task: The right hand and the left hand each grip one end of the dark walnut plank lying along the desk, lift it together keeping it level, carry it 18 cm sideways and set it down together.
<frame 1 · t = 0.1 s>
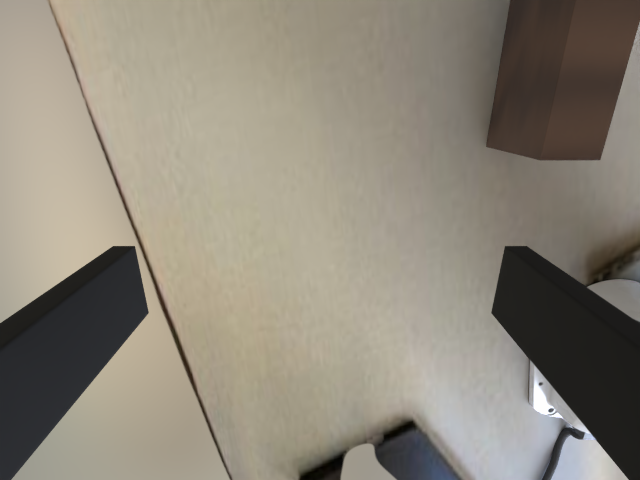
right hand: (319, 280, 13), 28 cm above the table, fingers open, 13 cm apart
plank: (535, 7, 33), on the table
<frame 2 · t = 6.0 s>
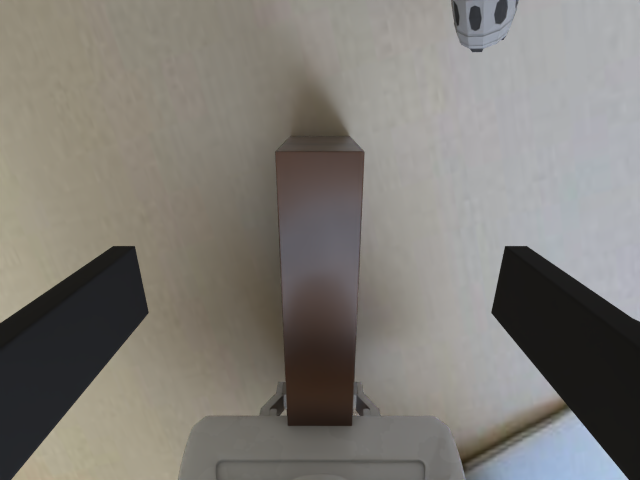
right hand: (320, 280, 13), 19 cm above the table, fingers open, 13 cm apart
plank: (320, 277, 34), on the table, touching left hand
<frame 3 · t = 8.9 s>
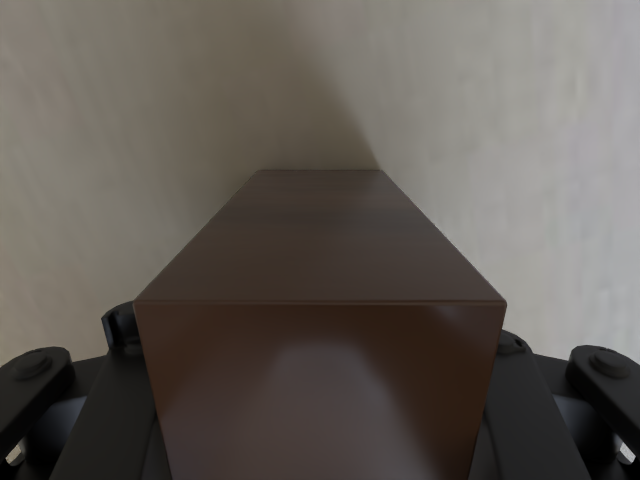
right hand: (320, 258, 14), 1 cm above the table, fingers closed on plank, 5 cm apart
plank: (320, 415, 19), on the table, touching right hand, left hand
when the right hand's fingers open (2 cm above the table, at t = 15.4 s): plank stays where it is, on the table.
when the left hand's fingers open (5 cm above the table, at t = 15.6 s): plank stays where it is, on the table.
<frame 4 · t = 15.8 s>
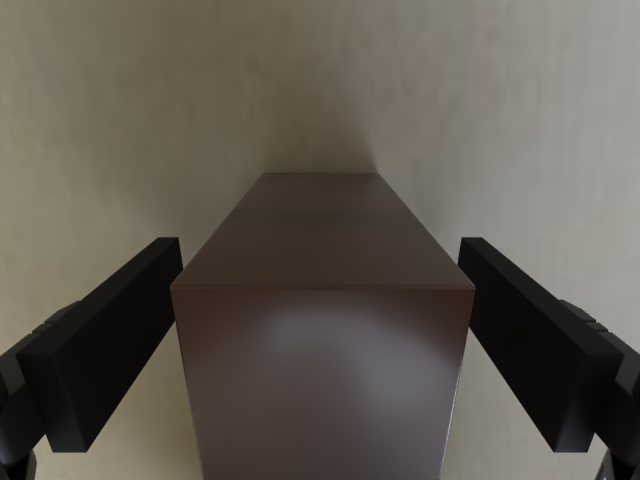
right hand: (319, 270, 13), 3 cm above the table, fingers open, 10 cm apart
plank: (320, 404, 20), on the table
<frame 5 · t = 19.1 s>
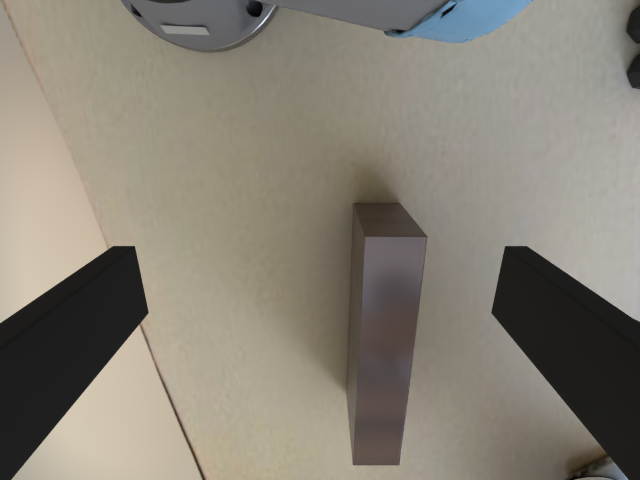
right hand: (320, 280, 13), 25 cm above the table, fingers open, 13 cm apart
plank: (370, 308, 42), on the table
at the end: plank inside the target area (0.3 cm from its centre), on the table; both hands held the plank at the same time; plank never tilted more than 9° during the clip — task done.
